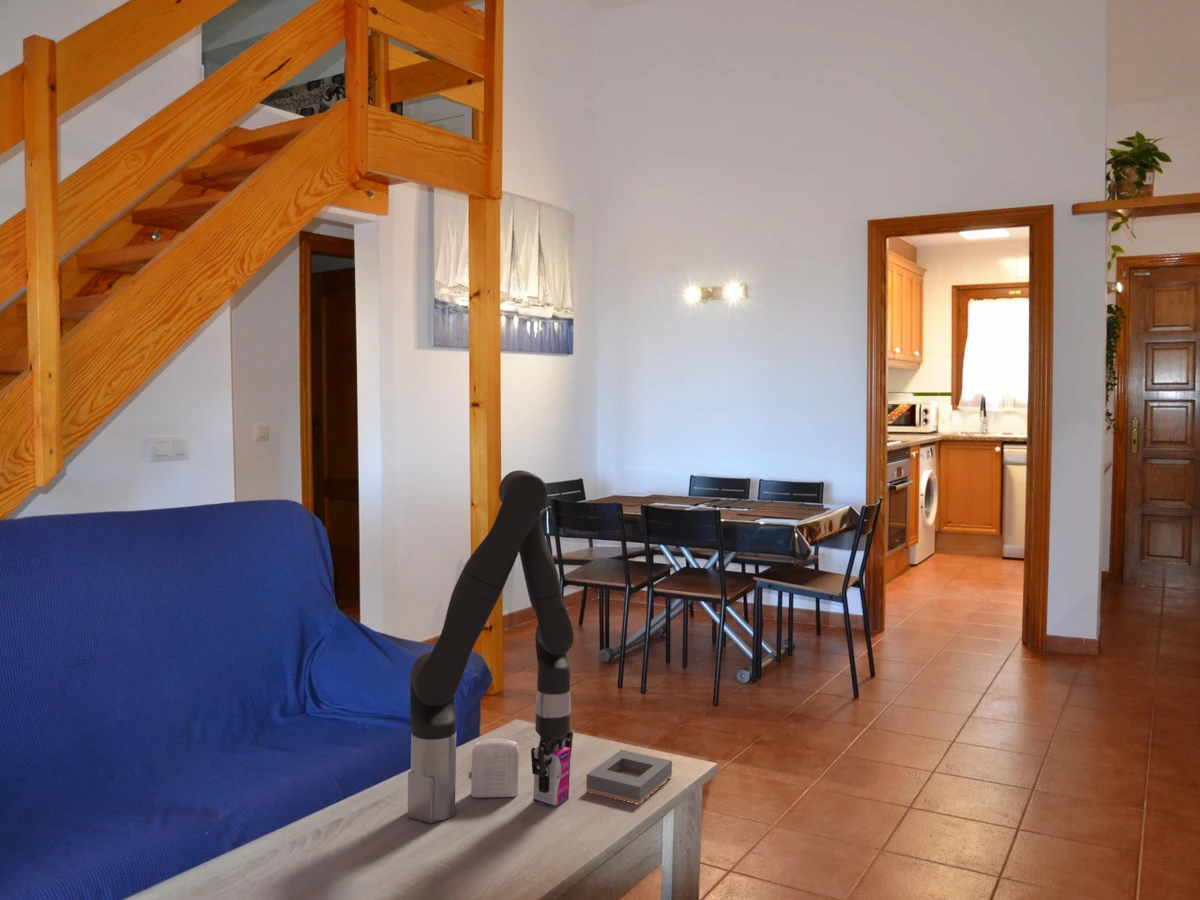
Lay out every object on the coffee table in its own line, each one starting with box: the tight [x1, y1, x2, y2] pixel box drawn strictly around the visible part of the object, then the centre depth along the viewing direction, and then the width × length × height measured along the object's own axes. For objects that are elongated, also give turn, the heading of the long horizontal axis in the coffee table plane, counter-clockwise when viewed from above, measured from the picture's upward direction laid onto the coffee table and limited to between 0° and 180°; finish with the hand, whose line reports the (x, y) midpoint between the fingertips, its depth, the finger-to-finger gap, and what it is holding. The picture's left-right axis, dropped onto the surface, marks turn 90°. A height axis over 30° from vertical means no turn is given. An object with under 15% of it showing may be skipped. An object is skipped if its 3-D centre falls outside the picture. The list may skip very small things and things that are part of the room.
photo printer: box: [470, 738, 520, 798], centre depth 212 cm, size 10×4×12 cm, turn 98°
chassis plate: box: [585, 749, 673, 805], centre depth 219 cm, size 17×13×4 cm
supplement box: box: [532, 747, 572, 808], centre depth 210 cm, size 6×6×12 cm
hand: (551, 786), depth 210 cm, fingers closed on supplement box, 6 cm apart
